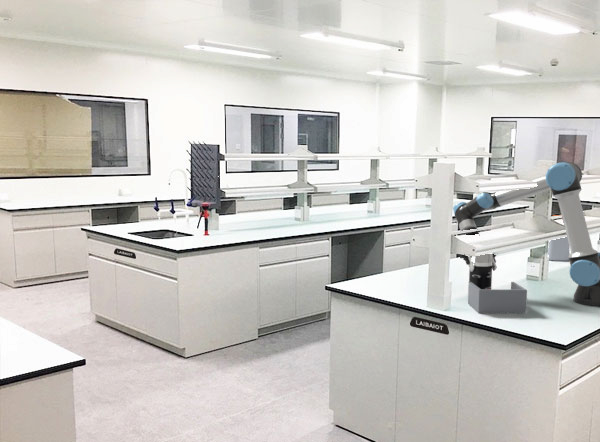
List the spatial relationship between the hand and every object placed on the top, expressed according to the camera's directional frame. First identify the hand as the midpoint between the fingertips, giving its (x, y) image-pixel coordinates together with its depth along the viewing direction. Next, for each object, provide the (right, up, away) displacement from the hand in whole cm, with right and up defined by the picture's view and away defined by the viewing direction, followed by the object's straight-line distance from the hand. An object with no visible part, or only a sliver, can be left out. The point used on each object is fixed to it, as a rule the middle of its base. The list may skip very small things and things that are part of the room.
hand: (483, 269), depth 256 cm
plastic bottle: (+80, -3, +104) cm, 131 cm away
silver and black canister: (0, -13, +5) cm, 14 cm away
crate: (+2, -16, -11) cm, 20 cm away
